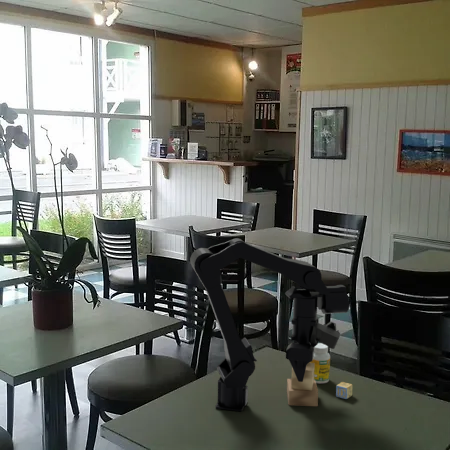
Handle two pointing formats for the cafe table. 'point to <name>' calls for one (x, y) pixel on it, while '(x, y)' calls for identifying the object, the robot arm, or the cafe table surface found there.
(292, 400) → the walnut base block
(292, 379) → the maple cube
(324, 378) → the supplement bottle
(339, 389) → the alphabet block
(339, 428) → the cafe table surface
